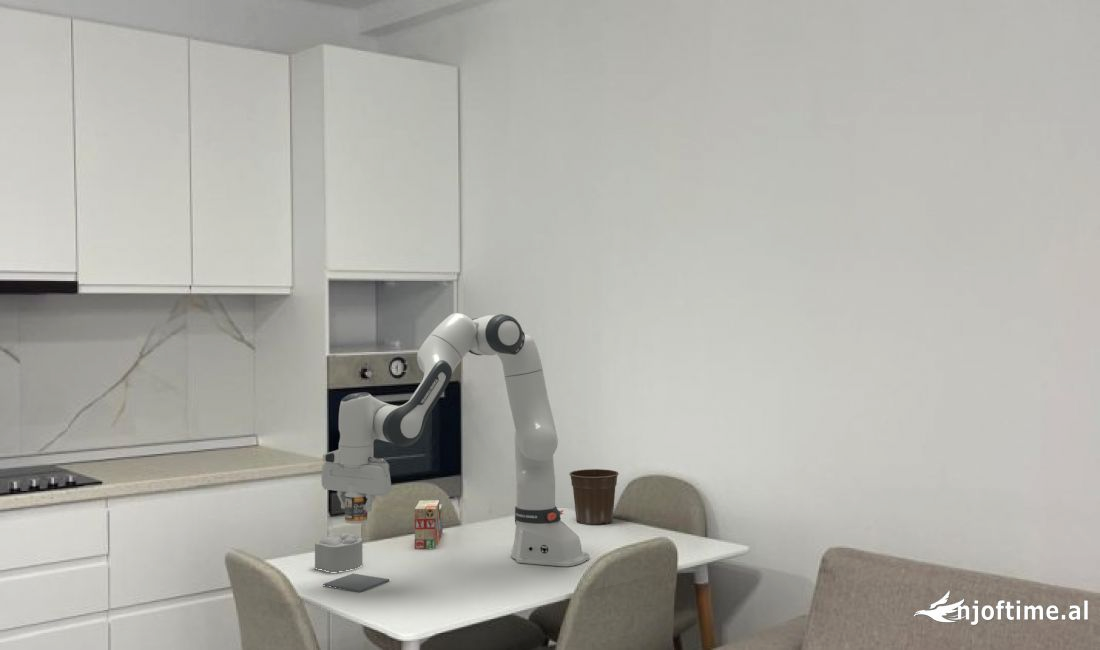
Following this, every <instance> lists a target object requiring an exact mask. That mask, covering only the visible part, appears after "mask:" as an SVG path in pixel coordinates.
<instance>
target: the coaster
mask: <svg viewBox="0 0 1100 650" xmlns="http://www.w3.org/2000/svg"><path fill="white" fill-rule="evenodd" d="M389 582H390V578H383V577H379V576H370V575H366V574H359V573H351V574H347V575H344V576H341V577H339V578H335V579H333V580H330V581H327V582H325V583H324V582H323V583H322V586H323V585H325V586H331V587H336V588H341V589H340V590H342V589H345V590H344V591H348V590H350V591H349V592H354V591H355V593H363V592H365V591H368V590H370V589H372V588H376V587H378V586H381V585H383V584H386V583H389ZM336 588H335V589H336Z"/></svg>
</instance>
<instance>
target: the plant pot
mask: <svg viewBox="0 0 1100 650" xmlns="http://www.w3.org/2000/svg"><path fill="white" fill-rule="evenodd" d="M619 475H620V474H619V472H618V471H616V470H612V469H602V468H594V469H593V468H589V469H578V470H573V471H570V472H569V476H570V480H571V486H572V491H573V500H574V510H575V511H574V512H575V521H576V522H577V523H580V524H583V525H588V524H594V525H595V524H596V525H602V524H610V523H612V522H613V521H614V511H615V510H614V509H615V498H616V497H615V494H616V486H617V481H618V476H619Z"/></svg>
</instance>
